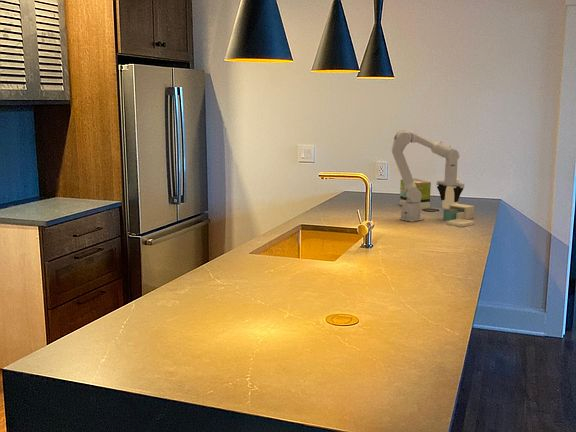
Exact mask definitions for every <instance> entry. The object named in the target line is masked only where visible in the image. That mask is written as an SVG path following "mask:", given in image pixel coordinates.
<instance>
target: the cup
mask: <svg viewBox="0 0 576 432" xmlns="http://www.w3.org/2000/svg"><path fill="white" fill-rule="evenodd" d="M443 181H445V177H443ZM456 182H457V183H460V178H458V177H457V181H456ZM453 188H456V187H451V186H447V188H446V192H445V200H441V203H442V204H441V205H442V206H441V207H442V209H445V210H446V209H449V205H452V204H459V201H458V202H454V189H453Z"/></svg>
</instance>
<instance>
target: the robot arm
mask: <svg viewBox="0 0 576 432" xmlns="http://www.w3.org/2000/svg"><path fill="white" fill-rule="evenodd" d="M410 143H412V144H414V143H415V144H416V143H417V144H419V145H422V146H425V147H427V148H429V149H430V150H431V153H433V154H435V155H436V156H437V155H438V156H439V157H442V158H445V165H444V166H445V167H444V178H445V181H444V180H437V181H436V189H437V190H438V192H439V195H440V201H443V200H445V192H446V188H447V186H451V187H456V188H453V189H454V202H458V203H459V199H460V196H461V194H462V192H463V190H464V189H465V183H461V182H459V183H457V182H456V181H457V178H458V160H459V159H460V156H461V155H460V153H459V150H457V149H454V148H453V147H452V146H450V145H449V146H448V145H446V144H443V142H442V141H434V142H433V141H432V140H429V139H427V138H425V137H423V136H421V135H419V134H416V133H415V132H414V133H413V132H410V131H407V130H404V129H401V130H399V131H397V132H396V134H395V135H394V137H393V142H392V147H391V153H392V155H393V158H394V161H395V164H396V166H397V168H398V171H399V173H400V176H401V178H402V179H403V182H404V184H405V189H406V196H407V199H406V203H404V204H403V205H401V208H400V209H401V210H400V217H399V220H400V221H406V222H410V223H411V222H418V221H423V220H424V218H422V217H421V209H420V208H421V201H420V200H421V198H422V194H421V192H420V191H419V190H418V189H417V186H416V184H415V183H414V180H413V179H414V177H413V175H412V172H411V170H410V167H409V165H408V162H407V160H406V157H405V154H404V150H405V148H406V147H407V145H409V144H410Z"/></svg>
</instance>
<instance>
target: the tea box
mask: <svg viewBox="0 0 576 432" xmlns="http://www.w3.org/2000/svg"><path fill="white" fill-rule="evenodd" d="M413 180H414V183H415V184H416V186H417V189H418V190H419V191H420V192H421V194H422V198H421V200H420V201H421V208H420V210H423V209H424V210H426V209H430V206H431V205H430V204H431V187H432V184H431V183H432V182H431V181H428V180H422V179H418V178H413ZM399 193H400V194H399V205H400V206H402V205H403V204H404V203H406V199H407V196H406V189H405V184H404V182H403V179H400V190H399Z"/></svg>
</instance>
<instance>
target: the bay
mask: <svg viewBox="0 0 576 432" xmlns="http://www.w3.org/2000/svg"><path fill="white" fill-rule="evenodd" d="M449 209H456V210H458V212H457V213H456V219H464V220H470V219H474V215H475V206H474V205H469V204H464V203H463V204H462V203H458V204H452V205H449Z"/></svg>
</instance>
